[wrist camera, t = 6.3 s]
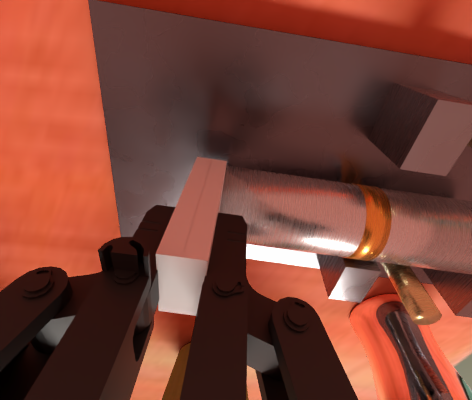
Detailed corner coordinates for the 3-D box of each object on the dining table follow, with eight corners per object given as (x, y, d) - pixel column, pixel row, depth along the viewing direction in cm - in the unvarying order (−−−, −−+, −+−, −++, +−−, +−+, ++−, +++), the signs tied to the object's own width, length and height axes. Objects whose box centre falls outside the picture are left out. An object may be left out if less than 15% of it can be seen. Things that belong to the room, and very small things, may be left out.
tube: (224, 189, 17) (214, 250, 15) (228, 149, 13) (217, 222, 11) (433, 219, 17) (450, 281, 15) (492, 188, 14) (525, 264, 12)
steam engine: (127, 232, 20) (84, 302, 15) (99, 0, 12) (-12, -19, 7) (469, 279, 21) (539, 360, 16) (649, 95, 13) (903, 138, 8)
